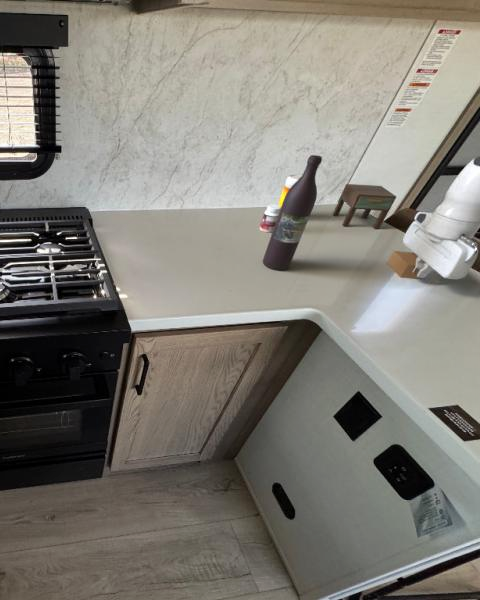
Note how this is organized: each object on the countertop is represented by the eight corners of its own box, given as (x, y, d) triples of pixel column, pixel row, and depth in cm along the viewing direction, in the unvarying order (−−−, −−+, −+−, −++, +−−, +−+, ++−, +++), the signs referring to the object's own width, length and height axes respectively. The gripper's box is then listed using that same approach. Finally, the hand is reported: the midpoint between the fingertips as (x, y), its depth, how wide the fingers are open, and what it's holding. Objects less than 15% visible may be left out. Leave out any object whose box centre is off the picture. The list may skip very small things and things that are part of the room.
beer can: (285, 222, 124) (300, 180, 115) (270, 216, 128) (284, 175, 120) (295, 219, 126) (311, 177, 118) (280, 213, 131) (295, 173, 122)
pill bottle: (260, 225, 122) (267, 202, 117) (275, 228, 120) (283, 205, 115) (258, 230, 119) (265, 207, 114) (273, 233, 117) (281, 210, 112)
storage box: (421, 279, 93) (430, 266, 91) (400, 277, 94) (408, 264, 92) (406, 264, 100) (414, 252, 97) (386, 262, 101) (393, 250, 98)
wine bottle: (259, 266, 100) (297, 157, 82) (265, 256, 104) (302, 151, 87) (286, 273, 96) (331, 161, 79) (290, 263, 101) (334, 155, 83)
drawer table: (379, 230, 118) (397, 197, 112) (344, 227, 120) (359, 194, 114) (365, 216, 127) (381, 185, 121) (332, 214, 130) (346, 183, 123)
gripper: (498, 247, 75) (457, 299, 83) (440, 212, 91) (411, 258, 99) (464, 244, 76) (427, 295, 84) (413, 210, 92) (386, 256, 100)
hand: (418, 275), depth 92 cm, fingers closed
